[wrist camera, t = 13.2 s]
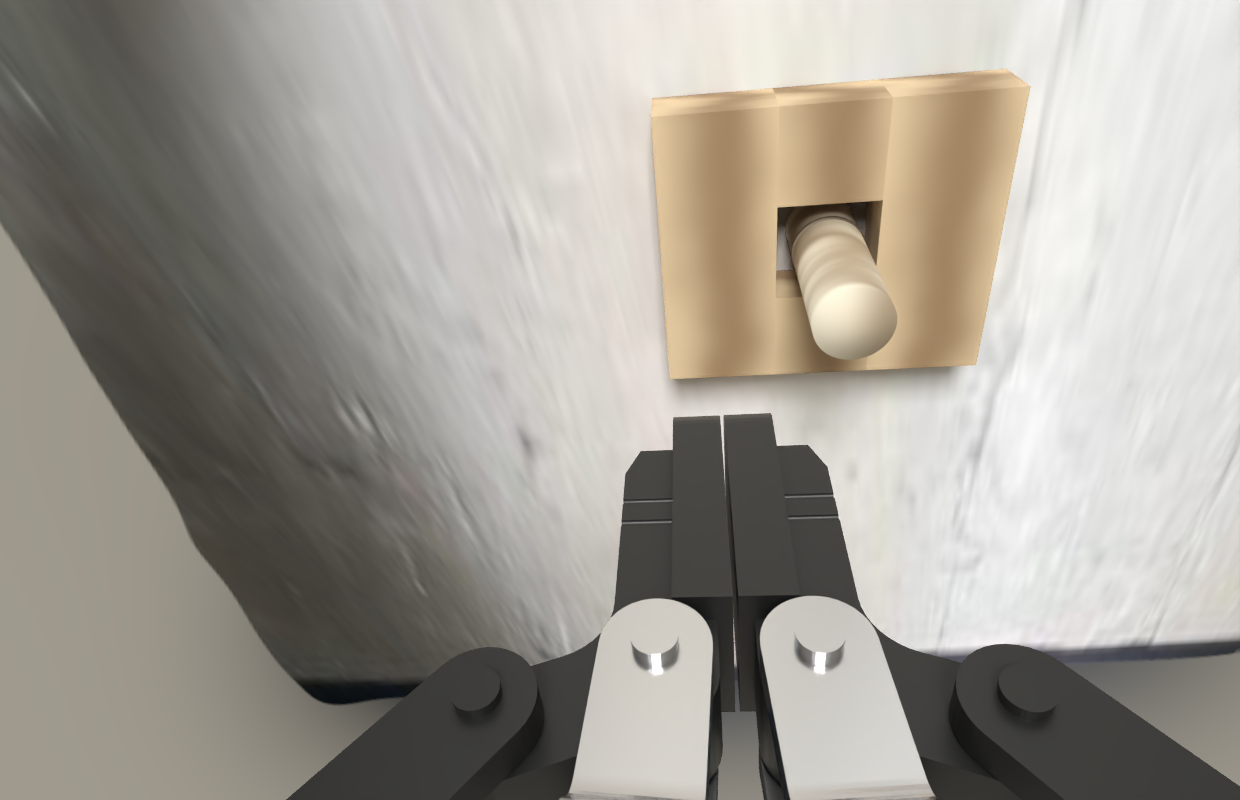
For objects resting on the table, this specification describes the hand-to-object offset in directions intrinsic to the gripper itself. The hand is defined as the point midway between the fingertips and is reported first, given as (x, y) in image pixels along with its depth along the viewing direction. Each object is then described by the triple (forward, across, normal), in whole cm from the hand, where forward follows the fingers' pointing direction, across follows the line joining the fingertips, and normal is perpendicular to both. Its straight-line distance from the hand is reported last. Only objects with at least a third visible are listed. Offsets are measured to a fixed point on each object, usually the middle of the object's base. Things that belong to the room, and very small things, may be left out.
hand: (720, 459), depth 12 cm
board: (+29, -6, +9) cm, 31 cm away
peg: (+29, -6, +9) cm, 31 cm away
